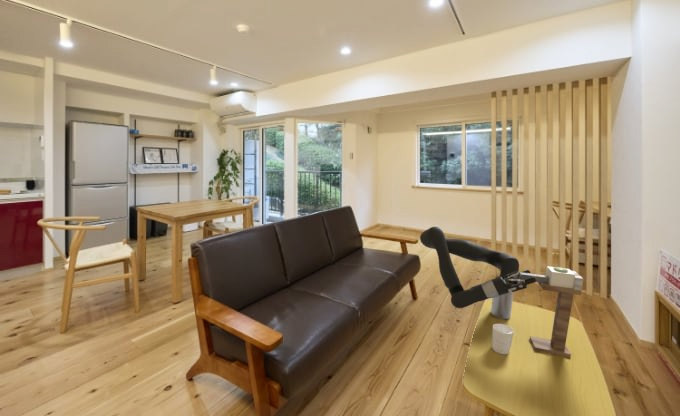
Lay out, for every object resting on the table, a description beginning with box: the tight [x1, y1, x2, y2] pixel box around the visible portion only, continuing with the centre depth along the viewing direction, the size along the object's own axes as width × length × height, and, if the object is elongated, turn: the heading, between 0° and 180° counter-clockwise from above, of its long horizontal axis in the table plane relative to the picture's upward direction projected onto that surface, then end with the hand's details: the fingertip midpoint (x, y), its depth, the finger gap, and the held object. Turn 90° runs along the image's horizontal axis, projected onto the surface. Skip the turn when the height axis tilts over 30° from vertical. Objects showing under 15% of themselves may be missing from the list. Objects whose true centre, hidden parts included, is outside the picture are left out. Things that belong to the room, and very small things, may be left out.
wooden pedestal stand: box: [529, 270, 584, 358], centre depth 129 cm, size 9×13×35 cm
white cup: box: [491, 323, 515, 355], centre depth 130 cm, size 8×8×10 cm
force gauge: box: [519, 265, 575, 288], centre depth 128 cm, size 7×18×6 cm, turn 71°
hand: (532, 275), depth 130 cm, fingers open, 8 cm apart
